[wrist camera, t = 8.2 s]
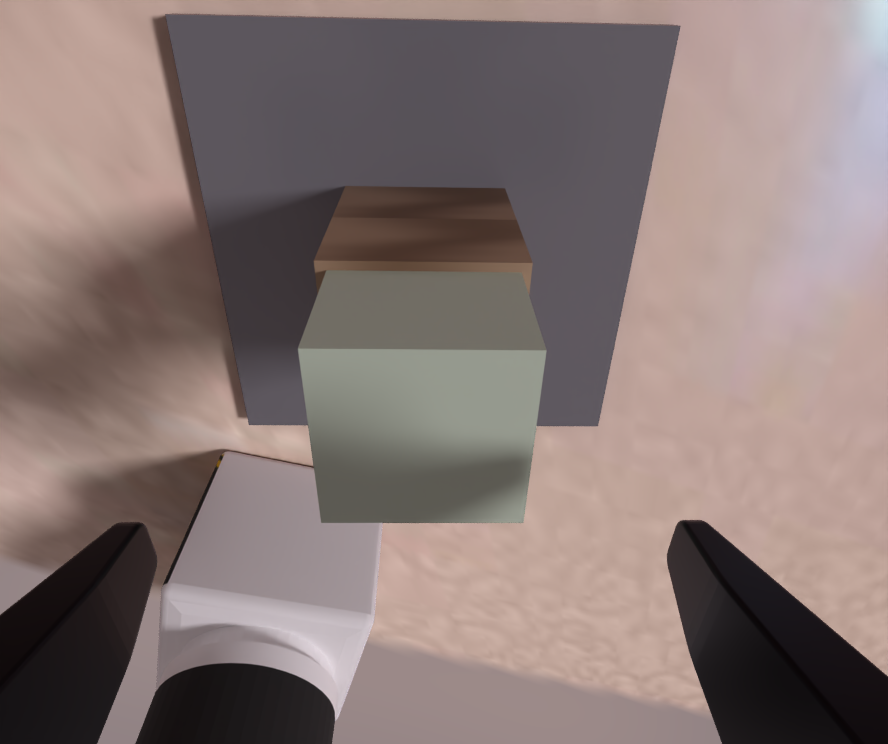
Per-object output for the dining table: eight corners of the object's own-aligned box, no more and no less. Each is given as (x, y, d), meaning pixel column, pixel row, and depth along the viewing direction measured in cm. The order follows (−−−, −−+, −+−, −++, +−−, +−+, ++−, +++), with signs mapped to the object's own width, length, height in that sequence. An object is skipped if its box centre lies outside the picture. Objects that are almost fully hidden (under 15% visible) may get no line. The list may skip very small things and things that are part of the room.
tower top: (516, 220, 16) (532, 262, 14) (503, 373, 19) (514, 433, 16) (332, 217, 16) (313, 260, 13) (345, 372, 19) (332, 432, 16)
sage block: (521, 272, 14) (546, 350, 11) (506, 425, 16) (523, 523, 13) (326, 270, 14) (297, 348, 11) (341, 424, 16) (320, 522, 13)
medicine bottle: (222, 445, 25) (82, 756, 15) (387, 478, 26) (361, 786, 16) (210, 554, 29) (91, 862, 19) (355, 579, 30) (317, 880, 20)
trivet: (673, 24, 17) (680, 25, 16) (594, 417, 24) (597, 426, 24) (173, 13, 16) (165, 14, 16) (252, 415, 24) (249, 425, 24)
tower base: (504, 188, 19) (516, 220, 16) (494, 327, 21) (503, 373, 19) (345, 186, 18) (332, 217, 16) (355, 326, 21) (345, 372, 19)
